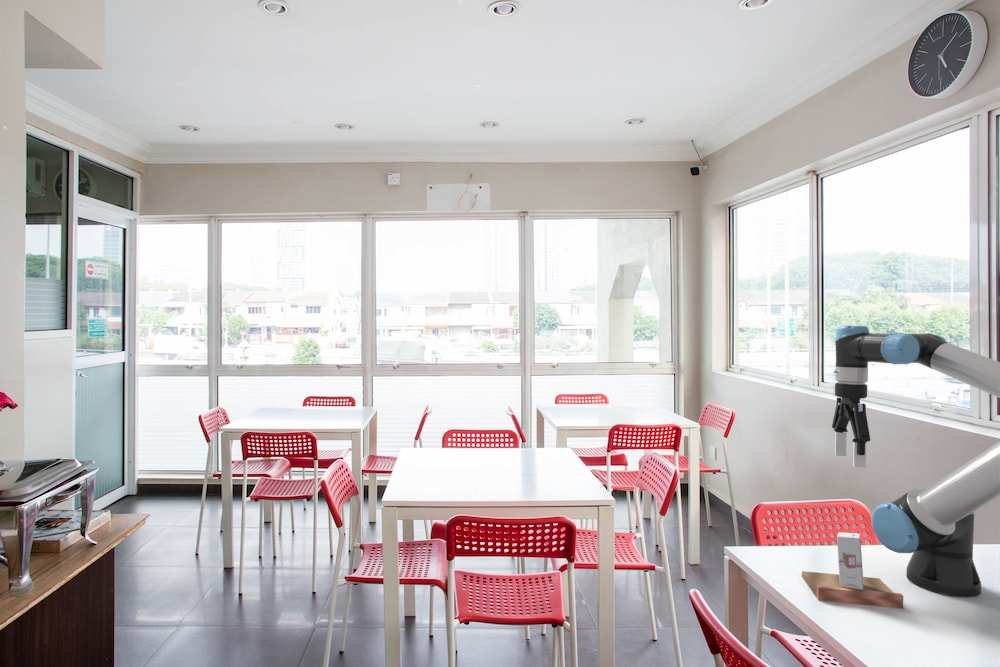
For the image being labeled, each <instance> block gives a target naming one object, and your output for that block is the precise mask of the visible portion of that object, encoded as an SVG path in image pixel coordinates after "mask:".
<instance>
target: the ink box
mask: <svg viewBox="0 0 1000 667" xmlns="http://www.w3.org/2000/svg"><path fill="white" fill-rule="evenodd" d="M861 541H862V540H861V533H856V532H855V533H854V532H842V531H841V532H838V533H837V536H836V543H837V562H838V574H839V578H840V587H847V588H853V589H860V590H863V577H864V572H863V571H864V570H863V569H864V568H863V557H862V542H861Z"/></svg>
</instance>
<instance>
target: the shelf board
mask: <svg viewBox="0 0 1000 667" xmlns="http://www.w3.org/2000/svg"><path fill="white" fill-rule="evenodd" d="M802 577H803V578H802ZM801 578H802V579H803V581H804V582H805V583H806V585H807V586H808V588H809V589H810V591H811V592H812V593H813V594H814V597H815V598H816V600H818V601H822V602H823V601H825V602H834V603H845V604H853V605H854V604H855V605H862V606H873V607H882V608H883V607H884V608H893V609H902V610H903V609H904V595H903V594H902V593H899V592H894V591H893V590H892V589H890V587H889V586H888V585H887V584H886V583H884V581H882V580H881V578H879V577H869V576H863V590H860V589H853V588H847V587H840V578H839V573H838V574H836V573H824V572H818V571H817V572H816V571H815V572H814V571H807V570H806V571H804V570H802V571H801Z"/></svg>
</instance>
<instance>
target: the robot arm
mask: <svg viewBox="0 0 1000 667" xmlns="http://www.w3.org/2000/svg"><path fill="white" fill-rule="evenodd" d="M835 334H836V335H835V341H834V343H835V369H834V370H833V371H832V372H833V374H835V378H834V379H835V381H836V383H834V395H835V397H837V398H836V406H835V409H834V416H833V419H832V424H831V428H832V429H833V431H834V456H836V457H837V456H838V457H839V456H840V457H847V433H849V431H848V429H847V427H848V426H849V422H850V426H851V430H852V433H853V439H852V444H853V445H852V467H853V468H866V464H867V463H866V459H867V458H866V457H867V443H868V442H870V441H871V435H870V429H869V422H868V418H867V405H866V403H862V402H861V401H860V400H861V399H862V400H863V399H866V398H868V385H867V384H866V383H867V382H868V380H869V367H868V365H869V363H882V364H891V365H892V364H893V365H909V364H920V365H923V366H924V367H927V368H929V369H931V370H935V371H936V372H939V373H941V374H944V375H946V376H948V377H951V378H953V379H955V380H958V381H960V382H962V383H964V384H967V385H969V386H971V387H974V388H975V389H979V390H981V391H983V392H985V393H987V394H990V395H992V396H994V397H997V398H999V399H1000V361H998V360H995V359H992V358H990V357H987V356H985V355H982V354H979V353H977V352H974V351H970V350H968V349H966V348H963V347H961V346H958V345H956V344H953V343H950V342H948V341H947V340H946V339H945V338H944V337H943V336H941V335H938V334H933V333H929V332H928V333H899V332H898V333H897V332H896V333H871V332H870V331H869V327H868V326H867V325H840V326H838V327H837V329H836V332H835ZM998 498H1000V441H998V442H997V443H995V444H993V445H992V446H990V447H989V448H987V449H986V450H984V451H983V452H981V453H979V454H978V455H977V456H975V457H973V458H972V459H970V460H968V461H967V462H966V463H964V464H962V465H961V466H960V467H957V468H956V469H955V470H953V471H951V472H950V473H949V474H948V475H946V476H943V477H942V478H941V479H939V480H937V482H934V484H932V485H930V486H929V487H927V488H925V489H924V488H923V489H919V488H913V489H911V490H910V491H908V492H907V493H905V494H903V495H902V496H900V497H898V498H897V499H896V500H894V501H891V502H887V501H886V502H883V503H881V504H878V505H877V506H876V507H874V509H873V511H871V512H872V513H871V516H870V520H871V523H870V524H871V528H872V530H873V533H874V535H875V537H876V538H877V539H878V541H879V542H880V543H881V545H883V547H885V548H887V550H890V551H892V552H894V553H897V554H911V557H910V559H909V562H908V564H907V566H906V574H905V576H906V578H907V580H908V581H909V582H911V583H912V584H915V586H918V587H920V588H922V589H925V590H927V591H930V592H934V593H937V594H941V595H945V596H946V595H947V596H952V597H958V598H973V597H974V598H975V597H977V596H980V595H981V593H982V582H981V579H980V576H979V573H978V570H977V568H976V565H975V562H974V559H973V558H974V555H973V554H974V533H975V532H974V531H975V530H974V527H975V524H974V523H975V515H976V514H975V512H976V511H978V510H979V509H982V508H983V507H985V506H987V505H988V504H990V503H992V502H993V501H995V500H997V499H998Z"/></svg>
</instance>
